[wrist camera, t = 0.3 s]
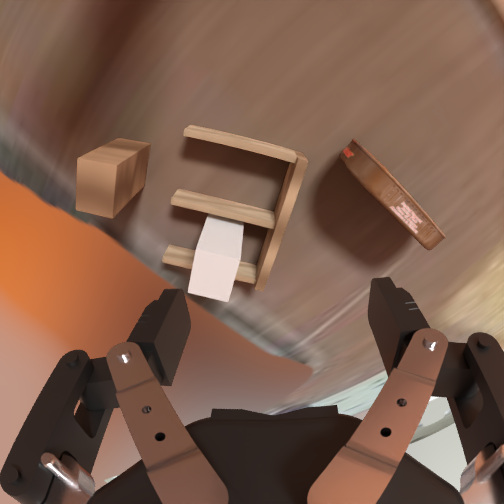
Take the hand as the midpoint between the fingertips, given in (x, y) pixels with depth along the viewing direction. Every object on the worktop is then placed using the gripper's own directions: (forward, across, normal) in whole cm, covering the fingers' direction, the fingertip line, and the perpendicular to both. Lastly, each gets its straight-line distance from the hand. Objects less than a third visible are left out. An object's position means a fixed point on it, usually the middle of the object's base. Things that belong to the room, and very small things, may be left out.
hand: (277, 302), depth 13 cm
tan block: (+21, +16, -4) cm, 27 cm away
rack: (+22, +5, +2) cm, 23 cm away
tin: (+23, -12, +1) cm, 26 cm away
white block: (+22, +6, +6) cm, 24 cm away
